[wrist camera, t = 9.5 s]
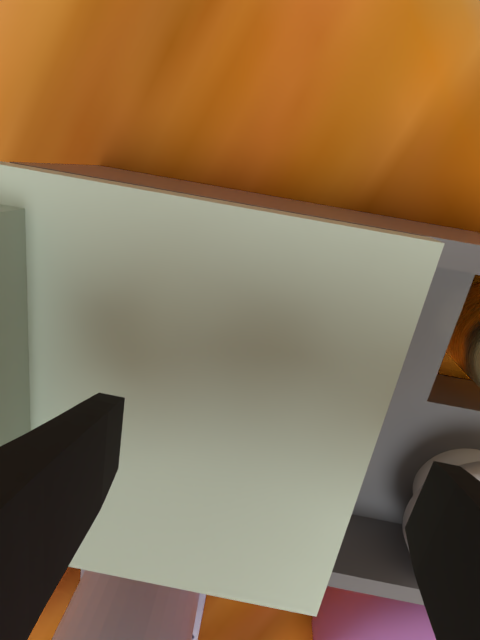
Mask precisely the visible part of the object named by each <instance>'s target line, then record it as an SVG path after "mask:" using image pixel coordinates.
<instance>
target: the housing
mask: <svg viewBox="0 0 480 640" xmlns="http://www.w3.org/2000/svg"><path fill="white" fill-rule="evenodd" d="M10 163H14V164H19V165H25V166H31V167H36V168H42V169H48V170H53V171H59V172H65V173H70V174H76V175H81V176H87V177H93V178H98V179H104V180H110V181H115V182H121V183H127V184H132V185H138V186H143V187H149V188H155V189H160V190H166V191H172V192H177V193H183V194H189V195H194V196H200V197H206V198H211V199H217V200H222V201H228V202H234V203H239V204H245V205H251V206H256V207H262V208H268V209H273V210H279V211H284V212H290V213H296V214H301V215H307V216H313V217H318V218H324V219H330V220H335V221H341V222H347V223H352V224H358V225H363V226H369V227H375V228H380V229H386V230H392V231H397V232H403V233H409V234H414V235H420V236H425V237H431V238H433V239H435V240H438V241H440V242H442V243H445V244H444V247H443V250H442V253H441V255H440V258H439V261H438V264H437V267H436V270H435V273H434V276H433V279H432V282H431V285H430V288H429V290H428V293H427V296H426V299H425V302H424V305H423V308H422V311H421V314H420V317H419V320H418V323H417V325H416V328H415V331H414V334H413V337H412V340H411V343H410V346H409V349H408V352H407V355H406V357H405V360H404V363H403V366H402V369H401V372H400V375H399V378H398V381H397V384H396V387H395V390H394V392H393V395H392V398H391V401H390V404H389V407H388V410H387V413H386V416H385V419H384V422H383V425H382V427H381V430H380V433H379V436H378V439H377V442H376V445H375V448H374V451H373V454H372V457H371V459H370V462H369V465H368V468H367V471H366V474H365V477H364V480H363V483H362V486H361V489H360V492H359V494H358V497H357V500H356V503H355V506H354V509H353V512H352V515H351V518H350V521H349V524H348V526H347V529H346V532H345V535H344V538H343V541H342V544H341V547H340V550H339V553H338V556H337V559H336V561H335V564H334V567H333V570H332V573H331V576H330V579H329V582H328V585H327V586H329V587H334V588H339V589H344V590H349V591H354V592H359V593H364V594H369V595H374V596H379V597H384V598H389V599H394V600H399V601H404V602H409V603H414V604H419V605H424V602H423V599H422V596H421V593H420V590H419V587H418V584H417V581H416V578H415V575H414V571H413V566H412V562H411V557H410V553H409V547H408V542H407V537H406V532H405V526H406V524H407V522H408V519H409V517H410V515H411V512H412V510H413V508H414V505H415V503H416V501H417V498H418V496H419V494H420V491H421V489H422V487H423V484H424V482H425V480H426V477H427V475H428V473H429V470H430V468H431V466H432V464H433V461H437V462H442V463H447V464H452V465H457V466H461V467H462V468H463V469H465V470H466V471H467V472H469V473H470V474H471V475H473V476H474V477H475V478H476V479H478V480H479V481H480V388H479V387H478V386H477V385H476V383H475V382H474V381H472V380H466V379H461V378H455V377H450V376H445V375H439V374H437V373H438V371H439V368H440V365H441V363H442V360H443V357H444V355H445V352H446V350H447V347H448V344H449V342H450V339H451V336H452V334H453V331H454V329H455V326H456V323H457V321H458V318H459V315H460V313H461V310H462V308H463V305H464V302H465V300H466V297H467V294H468V292H469V289H470V286H471V284H472V281H473V279H474V276H475V275H480V233H479V232H474V231H468V230H462V229H457V228H451V227H445V226H440V225H434V224H428V223H423V222H417V221H411V220H406V219H400V218H394V217H389V216H383V215H377V214H372V213H366V212H360V211H355V210H349V209H343V208H338V207H332V206H326V205H321V204H315V203H309V202H304V201H298V200H292V199H287V198H281V197H275V196H270V195H264V194H258V193H253V192H247V191H241V190H236V189H230V188H224V187H219V186H213V185H207V184H202V183H196V182H190V181H185V180H179V179H173V178H168V177H162V176H156V175H151V174H145V173H139V172H134V171H128V170H122V169H117V168H111V167H105V166H100V165H76V164H50V163H25V162H10ZM424 606H425V605H424Z"/></svg>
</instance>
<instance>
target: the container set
mask: <svg viewBox="0 0 480 640" xmlns="http://www.w3.org/2000/svg"><path fill="white" fill-rule="evenodd" d="M312 631H313V640H436V638H435V635H434V632H433V629H432V626H431V623H430V620H429V617H428V614H427V611H426V608H425V606H424V605H419V604H414V603H409V602H404V601H399V600H394V599H389V598H384V597H379V596H374V595H369V594H364V593H359V592H354V591H349V590H344V589H339V588H334V587H329V586H327V588H326V591H325V594H324V596H323V599H322V602H321V605H320V608H319V611H318V614H317V617H315V616H313V617H312Z"/></svg>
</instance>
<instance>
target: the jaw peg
mask: <svg viewBox="0 0 480 640" xmlns="http://www.w3.org/2000/svg"><path fill="white" fill-rule="evenodd" d="M446 353H447V354H448V355H449V356H450V357H451V358H452V359H453V360H454V361H455V362H456V363H457V364H458V365H459V366H460V368H461V369H462V370H463V371H464V372H465V373H466V374H467V375H468V376H469V377H470V378H471V379H472V380H473V381H474V382H475V383H476V385H477V386H478V387H479V388H480V283H479V284H475V285H472V286H470V289H469V292H468V294H467V297H466V300H465V302H464V305H463V308H462V310H461V313H460V315H459V318H458V321H457V323H456V326H455V329H454V331H453V334H452V336H451V339H450V342H449V344H448V347H447V350H446Z"/></svg>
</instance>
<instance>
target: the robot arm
mask: <svg viewBox="0 0 480 640" xmlns="http://www.w3.org/2000/svg"><path fill="white" fill-rule="evenodd" d="M124 402H125V398H124V397H119V396H114V395H109V394H104V393H97V394H95V395H94V396H92V397H90V398H88V399H86V400H85V401H83V402H81V403H79V404H78V405H76V406H74V407H72V408H71V409H69V410H67V411H65V412H64V413H62V414H60V415H58V416H57V417H55V418H53V419H51V420H49V421H48V422H46V423H44V424H42V425H40V426H38V427H37V428H35V429H33V430H31V431H29V432H28V433H26V434H24V435H22V436H20V437H18V438H16V439H14V440H12V441H10V442H8V443H6V444H4V445H2V446H0V640H27V639H28V637H29V635H30V633H31V631H32V630H33V628H34V626H35V624H36V622H37V620H38V618H39V616H40V615H41V613H42V611H43V609H44V607H45V606H46V604H47V602H48V600H49V599H50V597H51V595H52V593H53V592H54V590H55V588H56V586H57V585H58V583H59V581H60V580H61V578H62V576H63V574H64V573H65V571H66V569H67V567H68V566H69V564H70V562H71V561H72V559H73V557H74V555H75V554H76V552H77V550H78V548H79V547H80V545H81V543H82V542H83V540H84V538H85V536H86V535H87V533H88V531H89V529H90V528H91V526H92V524H93V522H94V521H95V519H96V517H97V515H98V513H99V512H100V510H101V508H102V505H103V503H104V501H105V499H106V496H107V494H108V492H109V490H110V487H111V485H112V482H113V480H114V478H115V475H116V473H117V471H118V468H119V457H120V446H121V435H122V424H123V413H124ZM405 532H406V537H407V542H408V547H409V553H410V557H411V562H412V566H413V571H414V575H415V578H416V581H417V584H418V587H419V590H420V593H421V596H422V599H423V602H424V605H425V608H426V611H427V614H428V617H429V620H430V623H431V626H432V629H433V632H434V635H435V638H436V640H480V481H479V480H478V479H476V478H475V477H474V476H473V475H471V474H470V473H469V472H467V471H466V470H465V469H463V468H462V467H461V466H457V465H452V464H447V463H442V462H437V461H433V464H432V466H431V468H430V470H429V473H428V475H427V477H426V480H425V482H424V484H423V487H422V489H421V491H420V494H419V496H418V498H417V501H416V503H415V505H414V508H413V510H412V512H411V515H410V517H409V519H408V522H407V524H406V526H405ZM205 599H206V594H201V593H197V592H192V591H187V590H182V589H177V588H172V587H167V586H162V585H157V584H152V583H147V582H142V581H137V580H132V579H127V578H122V577H117V576H112V575H107V574H102V573H97V572H93V571H88V570H83V569H81V576H80V582H79V584H78V586H77V588H76V590H75V592H74V594H73V596H72V598H71V601H70V603H69V605H68V607H67V609H66V611H65V613H64V615H63V617H62V619H61V621H60V623H59V625H58V627H57V630H56V632H55V634H54V636H53V638H52V640H198V635H199V630H200V625H201V619H202V614H203V609H204V604H205Z"/></svg>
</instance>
